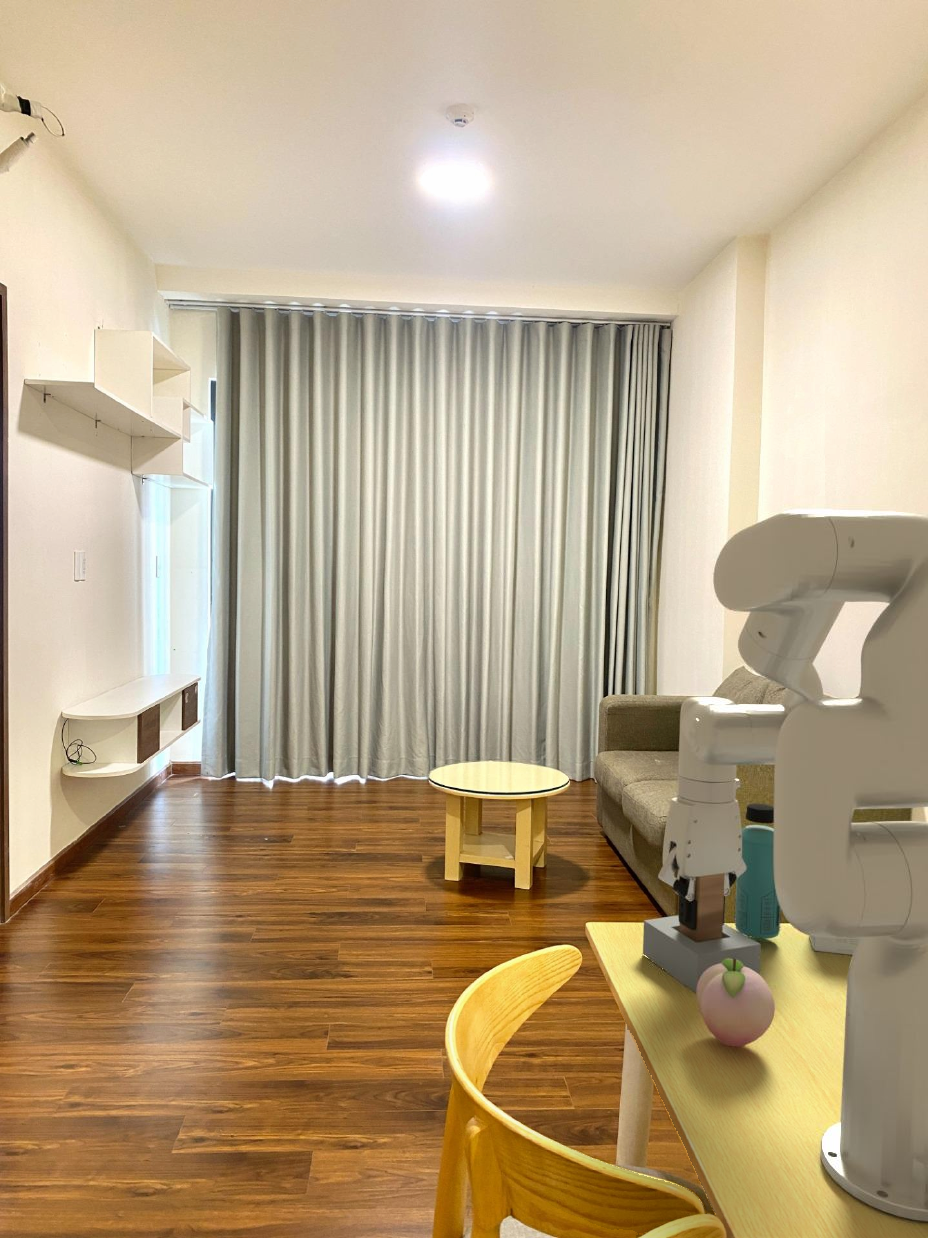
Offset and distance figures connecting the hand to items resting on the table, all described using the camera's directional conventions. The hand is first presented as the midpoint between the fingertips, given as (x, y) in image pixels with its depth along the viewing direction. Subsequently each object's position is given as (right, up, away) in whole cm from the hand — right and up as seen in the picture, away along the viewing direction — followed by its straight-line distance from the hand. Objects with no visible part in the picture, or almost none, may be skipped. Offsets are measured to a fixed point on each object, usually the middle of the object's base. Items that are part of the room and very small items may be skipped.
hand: (701, 923), depth 122 cm
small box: (+22, -7, +9) cm, 25 cm away
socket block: (0, -6, 0) cm, 6 cm away
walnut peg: (0, -4, 0) cm, 4 cm away
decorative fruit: (-1, -7, -20) cm, 21 cm away
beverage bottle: (+11, -6, +10) cm, 16 cm away
